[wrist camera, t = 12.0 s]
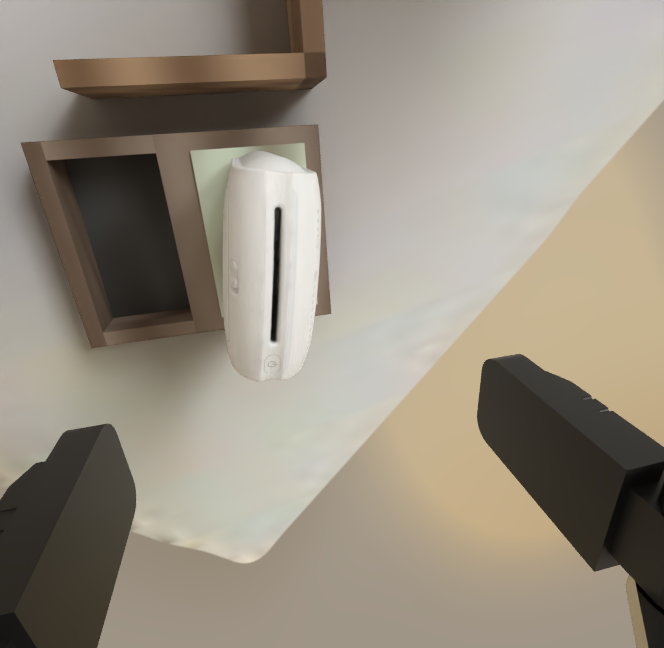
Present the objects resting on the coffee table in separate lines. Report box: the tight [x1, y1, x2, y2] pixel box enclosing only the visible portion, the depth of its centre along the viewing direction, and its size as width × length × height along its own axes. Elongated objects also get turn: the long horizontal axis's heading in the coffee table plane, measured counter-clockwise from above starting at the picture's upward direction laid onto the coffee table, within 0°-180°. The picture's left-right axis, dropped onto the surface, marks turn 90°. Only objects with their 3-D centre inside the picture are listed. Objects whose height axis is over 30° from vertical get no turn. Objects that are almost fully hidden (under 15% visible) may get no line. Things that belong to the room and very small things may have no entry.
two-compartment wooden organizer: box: [21, 125, 331, 348], centre depth 28 cm, size 17×13×3 cm
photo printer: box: [223, 151, 321, 381], centre depth 22 cm, size 10×4×12 cm, turn 175°
